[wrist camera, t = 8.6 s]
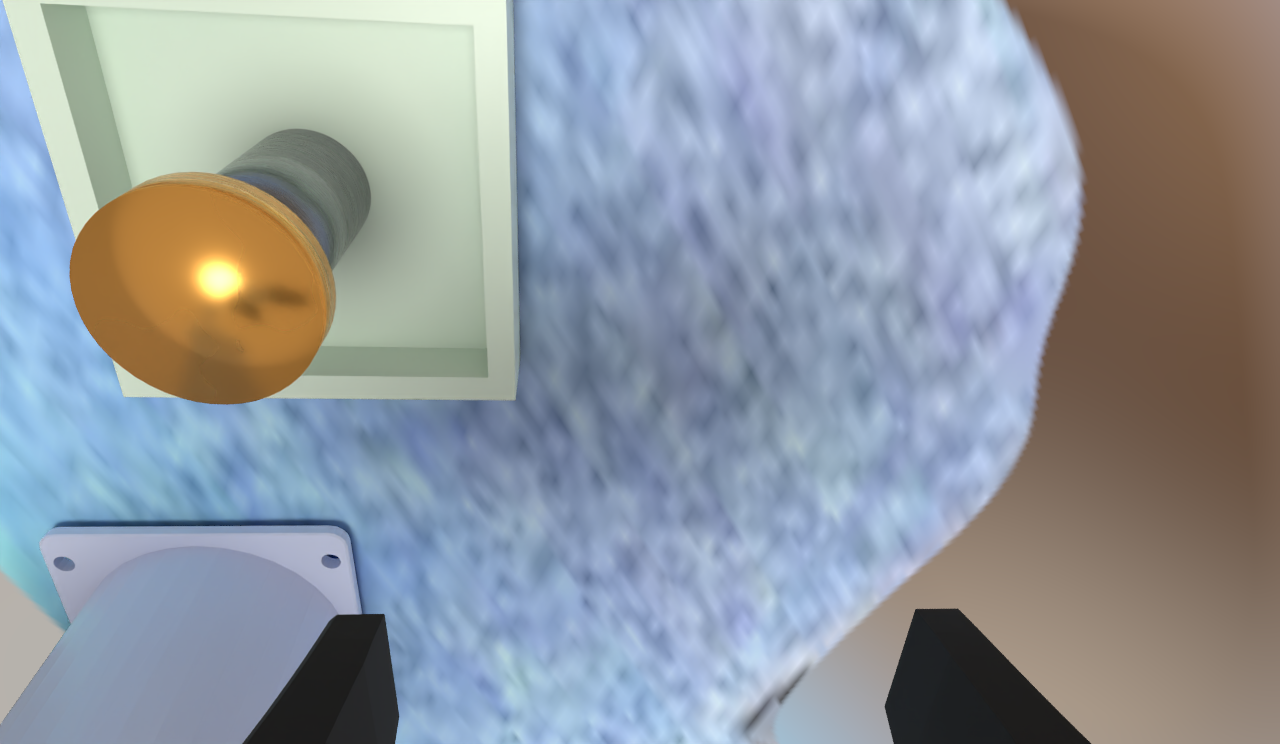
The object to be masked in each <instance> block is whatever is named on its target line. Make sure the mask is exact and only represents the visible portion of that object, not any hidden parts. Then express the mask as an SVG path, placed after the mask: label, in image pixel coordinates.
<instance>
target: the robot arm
mask: <svg viewBox="0 0 1280 744" xmlns="http://www.w3.org/2000/svg"><path fill="white" fill-rule="evenodd" d="M39 546H40V550H41V553H42V555H43V558H44V560H45V563H46V565H47V567H48V570H49V572H50V575H51V577H52V580H53V582H54V584H55V587H56V589H57V592H58V594H59V597H60V599H61V602H62V604H63V606H64V609H65V611H66V614H67V616H68V619H69V621H70V623H71V625H70V626H69V628H68V629H67V630H66V632H65V633H64V635H63V636H62V637H61V639H60V640H59V642H58V643H57V645H56V646H55V647H54V649H53V650H52V652H51V653H50V655H49V656H48V657H47V659H46V660H45V662H44V663H43V665H42V666H41V667H40V669H39V670H38V672H37V673H36V674H35V676H34V677H33V679H32V680H31V682H30V683H29V685H28V686H27V687H26V689H25V690H24V691H23V693H22V694H21V696H20V697H19V699H18V700H17V701H16V703H15V704H14V706H13V707H12V709H11V710H10V711H9V713H8V714H7V716H6V717H5V718H4V720H3V721H2V723H1V724H0V744H395V740H396V733H397V727H398V720H399V712H398V705H397V698H396V691H395V684H394V677H393V670H392V663H391V656H390V649H389V642H388V635H387V628H386V622H385V615H384V614H362V610H361V604H360V597H359V591H358V585H357V579H356V572H355V566H354V560H353V553H352V547H351V541H350V537H349V535H348V533H346V532H345V531H344V530H343V529H341V528H339V527H337V526H142V527H57V528H52V529H51V530H49V531H48V532H47V533H46V534H45V535H44V537H43V538H42V539H41V541H40V543H39ZM328 554H331V555H335V556H337V557H338V559H334V558H330V557H329V556H327V555H328ZM65 557H67V558H69V559H71V560H72V561H71V560H68V559H66V558H65ZM885 710H886V714H887V718H888V722H889V726H890V730H891V734H892V738H893V742H894V744H1091V743H1090V742H1089V741H1088V740H1087V739H1086V738H1085V737H1084V736H1083V735H1082V734H1081V733H1080V732H1079V731H1077V729H1075V727H1074V726H1073V725H1072V724H1070V722H1069V721H1068V720H1067V719H1066V718H1065V717H1063V716H1062V715H1061V714H1060V713H1059V711H1058V710H1057V709H1055V707H1054V706H1053V705H1051V703H1050V702H1048V700H1046V698H1045V697H1044V696H1043V695H1042V694H1041V693H1040V692H1039V691H1038V690H1037V689H1036V688H1035V687H1034V686H1033V685H1032V684H1031V683H1030V682H1029V681H1028V680H1027V679H1026V678H1025V677H1024V676H1023V675H1022V674H1021V673H1020V672H1019V671H1018V670H1017V669H1016V668H1015V667H1014V666H1013V665H1012V664H1011V663H1010V662H1009V660H1007V659H1006V657H1005V656H1004V655H1003V654H1002V653H1001V652H1000V651H999V650H998V649H997V648H996V647H995V646H994V645H993V644H992V643H991V642H990V641H989V640H988V639H987V638H986V637H985V636H984V635H983V634H982V633H981V631H979V630H978V628H977V627H976V626H974V624H972V622H971V621H970V620H969V619H968V618H967V617H965V615H964V614H963V613H962V612H961V611H960V610H959V609H916V610H915V613H914V616H913V619H912V622H911V625H910V628H909V631H908V635H907V638H906V641H905V644H904V647H903V650H902V653H901V657H900V660H899V663H898V666H897V669H896V672H895V675H894V679H893V682H892V685H891V688H890V691H889V694H888V697H887V701H886V704H885Z"/></svg>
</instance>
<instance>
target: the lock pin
mask: <svg viewBox="0 0 1280 744" xmlns="http://www.w3.org/2000/svg"><path fill="white" fill-rule="evenodd" d="M370 206H371V192H370V186H369V182H368V179H367V176H366V174H365V172H364V170H363V168H362V166H361V165H360V163H359V162H358V160H357V159H356V158H355V157H354V155H353V154H352V153H351V152H350V151H349V150H348V149H347V148H346V147H344V146H343V145H342V144H340V143H339V142H338V141H336V140H334V139H333V138H331V137H329V136H327V135H325V134H322V133H319V132H316V131H312V130H307V129H287V130H282V131H279V132H276V133H273V134H271V135H269V136H267V137H266V138H264V139H263V140H262V141H260V142H259V143H257V144H256V145H255V146H253V147H252V148H251V149H249V150H248V151H246V152H245V153H244V154H242V155H241V156H240V157H238V158H237V159H235V160H234V161H233V162H231V163H230V164H229V165H227V166H226V167H224V168H223V169H222V170H220V171H219V172H218V173H216V174H212V173H204V172H178V173H171V174H166V175H161V176H158V177H155V178H152V179H149V180H146V181H145V182H143V183H141V184H139V185H137V186H135V187H133V188H132V189H130V190H128V191H127V192H125V193H124V194H122V195H120V196H119V197H117V198H116V199H114V200H112V201H111V202H109V203H108V204H106V205H105V206H104V207H102V208H101V209H100V210H98V211H97V212H96V213H95V214H94V215H93V216H92V217H91V218H90V219H89V220H88V221H87V222H86V223H85V225H84V227H83V228H82V230H81V231H80V233H79V235H78V237H77V239H76V242H75V244H74V247H73V250H72V255H71V260H70V283H71V291H72V294H73V298H74V301H75V305H76V307H77V310H78V312H79V314H80V317H81V319H82V321H83V322H84V324H85V326H86V327H87V329H88V331H89V333H90V334H91V335H92V337H93V338H94V339H95V341H96V342H97V343H98V345H99V346H100V347H101V348H102V349H103V350H104V351H105V352H106V353H107V354H108V355H109V356H110V357H111V358H112V359H113V360H114V361H115V362H116V363H118V364H119V365H120V366H121V367H122V368H123V369H125V370H126V371H128V372H129V373H130V374H132V375H133V376H135V377H136V378H138V379H140V380H141V381H143V382H145V383H146V384H148V385H150V386H152V387H154V388H156V389H159V390H161V391H163V392H165V393H168V394H171V395H174V396H177V397H179V398H183V399H187V400H191V401H195V402H202V403H209V404H240V403H246V402H252V401H256V400H260V399H263V398H266V397H269V396H271V395H273V394H275V393H278V392H280V391H282V390H283V389H285V388H286V387H288V386H289V385H291V384H292V383H293V382H294V381H296V380H297V379H298V378H299V377H300V376H301V375H302V374H303V373H304V371H305V370H306V369H307V368H308V367H309V365H310V364H311V362H312V360H313V358H314V357H315V355H316V353H317V352H318V350H319V348H320V346H321V345H322V343H323V341H324V340H325V338H326V336H327V334H328V333H329V330H330V328H331V325H332V322H333V319H334V314H335V309H336V288H335V281H334V277H333V273H332V271H333V270H334V268H335V267H336V265H337V264H338V262H339V261H340V259H341V258H342V256H343V255H344V253H345V252H346V250H347V249H348V247H349V246H350V244H351V243H352V241H353V240H354V238H355V237H356V235H357V234H358V232H359V231H360V229H361V228H362V226H363V225H364V223H365V221H366V219H367V217H368V214H369V210H370Z"/></svg>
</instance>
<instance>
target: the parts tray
mask: <svg viewBox="0 0 1280 744" xmlns="http://www.w3.org/2000/svg"><path fill="white" fill-rule="evenodd" d="M3 4H4V7H5V10H6V13H7V17H8V20H9V23H10V26H11V30H12V33H13V36H14V40H15V43H16V46H17V49H18V53H19V56H20V59H21V62H22V66H23V69H24V72H25V76H26V79H27V82H28V85H29V89H30V92H31V95H32V98H33V102H34V105H35V108H36V111H37V115H38V118H39V121H40V125H41V128H42V131H43V134H44V138H45V141H46V144H47V147H48V151H49V154H50V157H51V161H52V164H53V167H54V170H55V174H56V177H57V180H58V183H59V187H60V190H61V193H62V197H63V200H64V203H65V206H66V210H67V213H68V216H69V219H70V223H71V226H72V229H73V233H74V236H75V239H77V237H78V235H79V233H80V231H81V230H82V228H83V227H84V225H85V223H86V222H87V221H88V220H89V219H90V218H91V217H92V216H93V215H94V214H95V213H96V212H97V211H98V210H100V209H101V208H102V207H104V206H105V205H106V204H108V203H109V202H111V201H112V200H114V199H116V198H117V197H119V196H120V195H122V194H124V193H125V192H127V191H128V190H130V189H132V188H133V187H135V186H137V185H139V184H141V183H143V182H145V181H146V180H149V179H152V178H155V177H158V176H161V175H166V174H171V173H178V172H204V173H212V174H216V173H218V172H219V171H220V170H222V169H223V168H224V167H226V166H227V165H229V164H230V163H231V162H233V161H234V160H235V159H237V158H238V157H240V156H241V155H242V154H244V153H245V152H246V151H248V150H249V149H251V148H252V147H253V146H255V145H256V144H257V143H259V142H260V141H262V140H263V139H264V138H266V137H267V136H269V135H271V134H273V133H276V132H279V131H282V130H287V129H307V130H312V131H316V132H319V133H322V134H325V135H327V136H329V137H331V138H333V139H334V140H336V141H338V142H339V143H340V144H342V145H343V146H344V147H346V148H347V149H348V150H349V151H350V152H351V153H352V154H353V155H354V157H355V158H356V159H357V160H358V162H359V163H360V165H361V166H362V168H363V170H364V172H365V174H366V176H367V179H368V182H369V186H370V192H371V206H370V210H369V214H368V217H367V219H366V221H365V223H364V225H363V226H362V228H361V229H360V231H359V232H358V234H357V235H356V237H355V238H354V240H353V241H352V243H351V244H350V246H349V247H348V249H347V250H346V252H345V253H344V255H343V256H342V258H341V259H340V261H339V262H338V264H337V265H336V267H335V268H334V270H333V271H332V273H333V277H334V281H335V288H336V309H335V314H334V319H333V322H332V325H331V328H330V330H329V333H328V334H327V336H326V338H325V340H324V341H323V343H322V345H321V346H320V348H319V350H318V352H317V353H316V355H315V357H314V358H313V360H312V362H311V364H310V365H309V367H308V368H307V369H306V370H305V371H304V373H303V374H302V375H301V376H300V377H299V378H298V379H297V380H296V381H294V382H293V383H292V384H291V385H289V386H288V387H286V388H285V389H283V390H282V391H280V392H278V393H275V394H273V395H271V396H269V397H266V398H300V399H413V400H516V392H517V383H518V374H519V366H520V320H519V269H518V218H517V167H516V116H515V65H514V14H513V0H3ZM112 360H113V359H112ZM113 363H114V367H115V370H116V373H117V376H118V380H119V383H120V386H121V390H122V393H123V396H124V397H177V396H174V395H171V394H168V393H165V392H163V391H161V390H159V389H156V388H154V387H152V386H150V385H148V384H146V383H145V382H143V381H141V380H140V379H138V378H136V377H135V376H133V375H132V374H130V373H129V372H128V371H126V370H125V369H123V368H122V367H121V366H120V365H119V364H118V363H116V362H115V361H114V360H113Z"/></svg>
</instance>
